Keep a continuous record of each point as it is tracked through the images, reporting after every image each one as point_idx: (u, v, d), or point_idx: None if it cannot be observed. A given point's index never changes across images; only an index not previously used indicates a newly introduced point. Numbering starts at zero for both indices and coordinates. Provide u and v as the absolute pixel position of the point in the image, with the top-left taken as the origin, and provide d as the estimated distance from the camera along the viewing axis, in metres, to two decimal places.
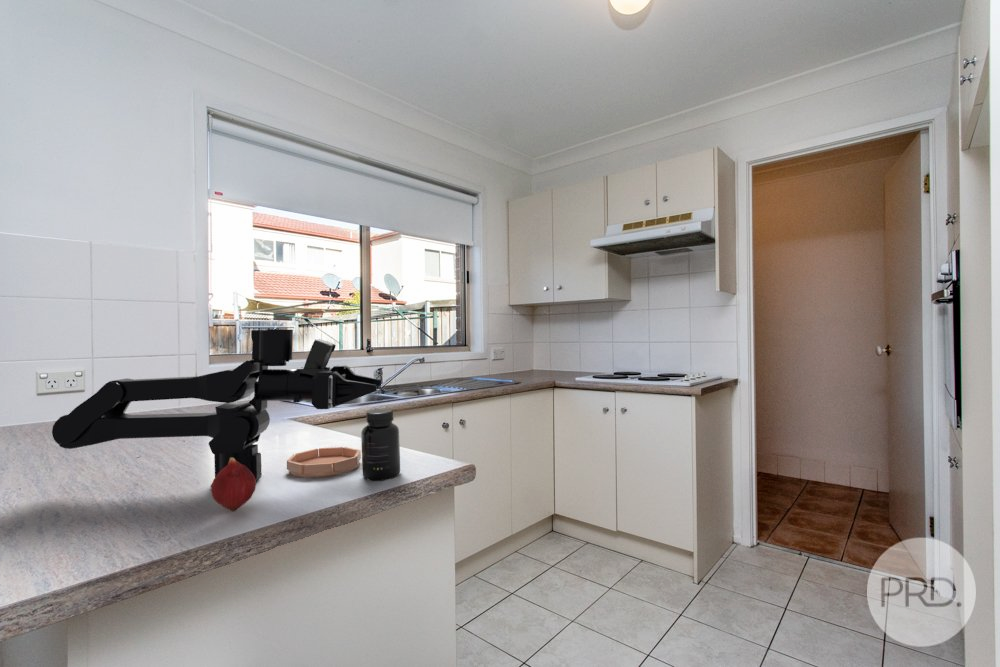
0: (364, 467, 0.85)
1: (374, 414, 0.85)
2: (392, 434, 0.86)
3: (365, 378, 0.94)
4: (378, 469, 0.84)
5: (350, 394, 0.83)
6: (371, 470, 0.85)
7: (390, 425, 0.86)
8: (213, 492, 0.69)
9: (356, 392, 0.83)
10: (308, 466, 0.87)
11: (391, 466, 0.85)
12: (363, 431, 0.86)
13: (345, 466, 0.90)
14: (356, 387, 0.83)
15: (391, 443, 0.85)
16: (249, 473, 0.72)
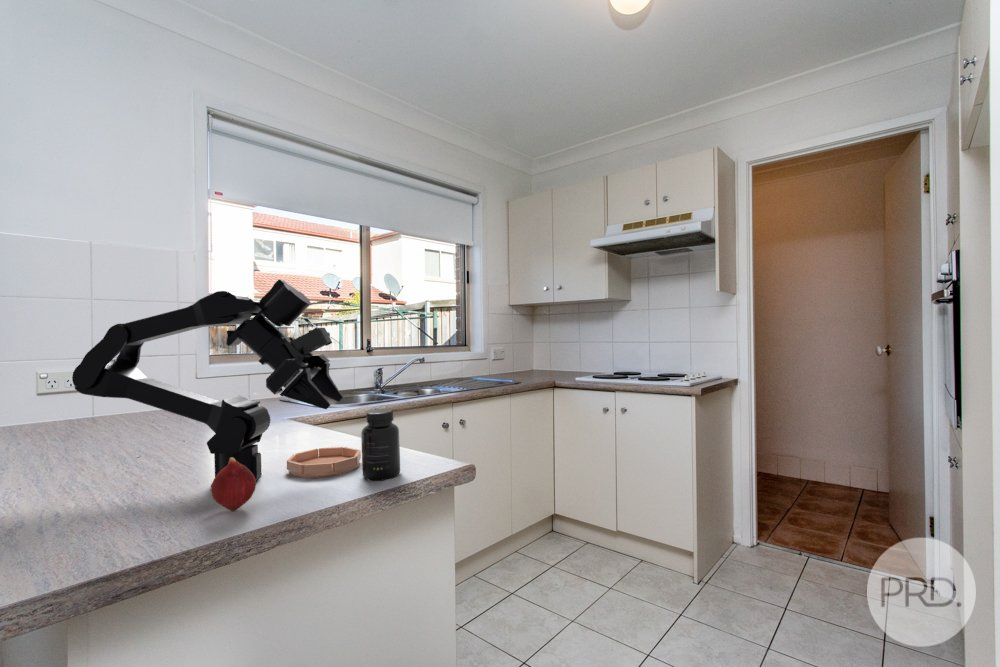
0: (364, 467, 0.85)
1: (374, 414, 0.85)
2: (392, 434, 0.86)
3: (332, 385, 0.91)
4: (378, 469, 0.84)
5: (303, 395, 0.81)
6: (371, 470, 0.85)
7: (390, 425, 0.86)
8: (213, 492, 0.69)
9: (309, 398, 0.81)
10: (308, 466, 0.87)
11: (391, 466, 0.85)
12: (363, 431, 0.86)
13: (345, 466, 0.90)
14: (313, 394, 0.81)
15: (391, 443, 0.85)
16: (249, 473, 0.72)
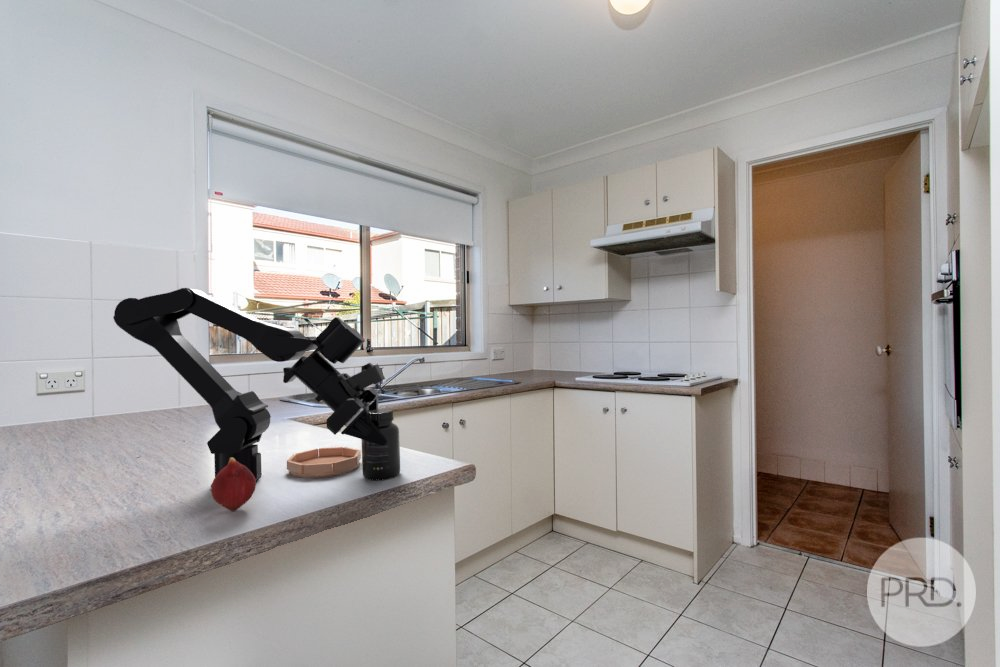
0: (364, 467, 0.85)
1: (374, 414, 0.85)
2: (392, 433, 0.86)
3: None
4: (378, 468, 0.84)
5: (362, 433, 0.83)
6: (371, 470, 0.85)
7: (390, 425, 0.86)
8: (213, 492, 0.69)
9: (368, 435, 0.83)
10: (308, 466, 0.87)
11: (391, 466, 0.85)
12: None
13: (345, 466, 0.90)
14: (371, 431, 0.83)
15: (391, 443, 0.85)
16: (249, 473, 0.72)
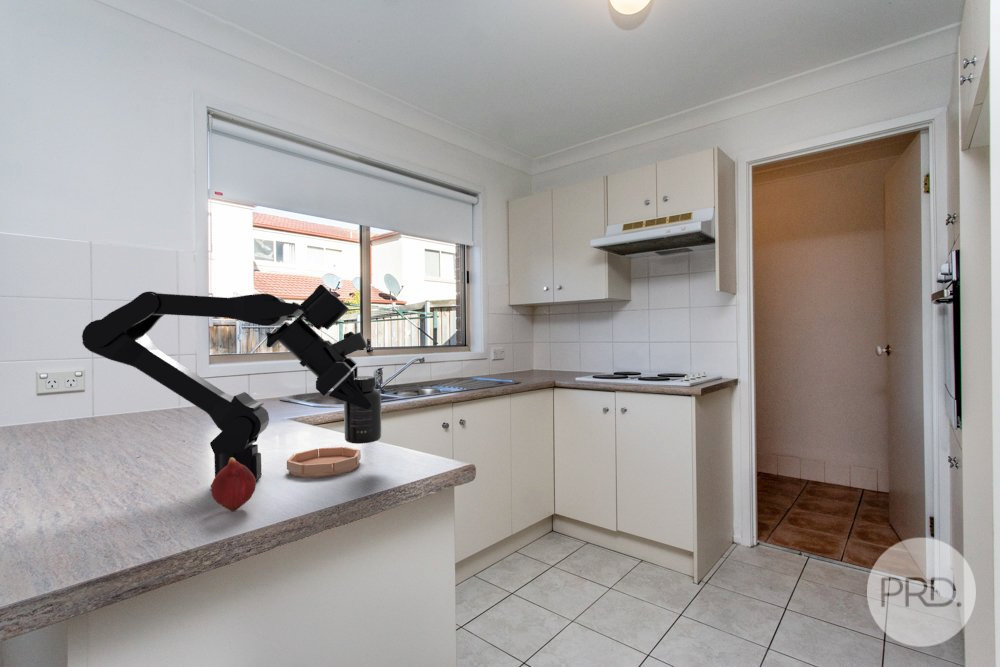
0: (347, 431, 0.88)
1: (359, 380, 0.88)
2: (376, 399, 0.89)
3: None
4: (361, 432, 0.88)
5: (348, 396, 0.85)
6: (355, 434, 0.88)
7: (373, 391, 0.90)
8: (213, 492, 0.69)
9: (353, 398, 0.86)
10: (308, 466, 0.87)
11: (374, 429, 0.89)
12: None
13: (345, 466, 0.90)
14: (357, 395, 0.86)
15: (375, 407, 0.89)
16: (249, 473, 0.72)
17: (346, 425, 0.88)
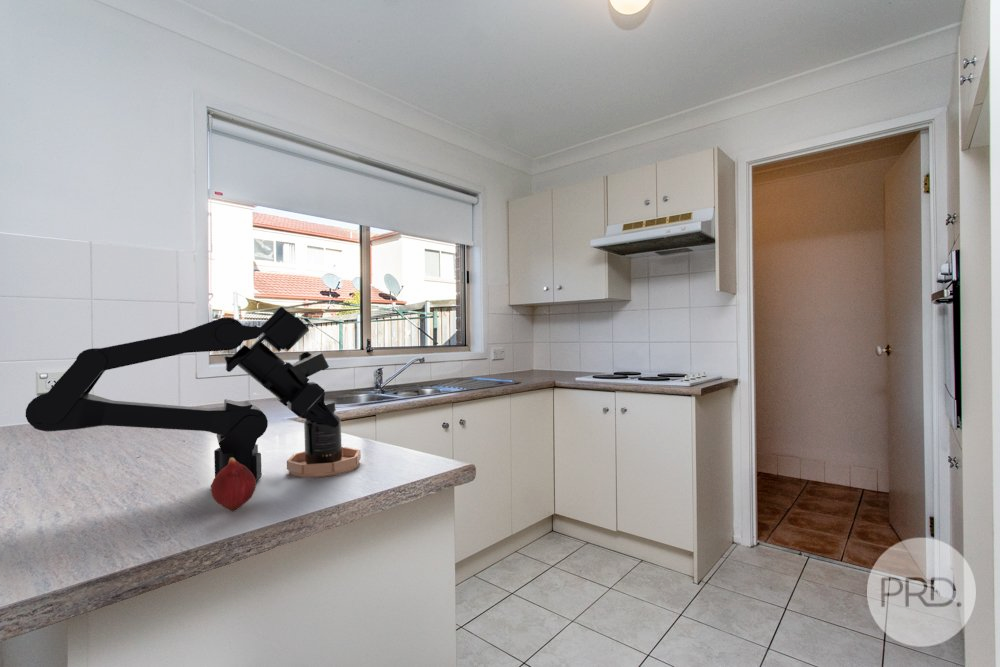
0: (311, 456, 0.91)
1: None
2: None
3: None
4: (326, 455, 0.91)
5: (317, 416, 0.88)
6: (320, 458, 0.91)
7: (334, 415, 0.94)
8: (213, 492, 0.69)
9: (323, 418, 0.88)
10: (308, 466, 0.87)
11: (337, 452, 0.93)
12: (309, 422, 0.91)
13: (345, 466, 0.90)
14: (326, 414, 0.89)
15: (337, 431, 0.93)
16: (249, 473, 0.72)
17: (309, 450, 0.91)
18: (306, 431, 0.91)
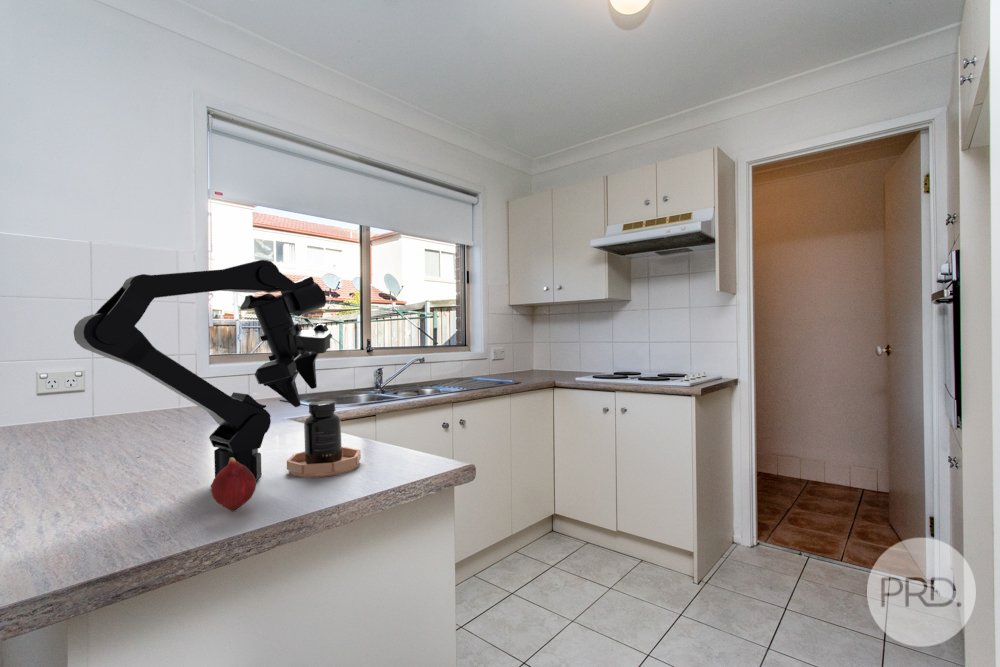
0: (311, 456, 0.91)
1: (321, 405, 0.92)
2: (338, 422, 0.93)
3: (312, 374, 1.00)
4: (326, 455, 0.91)
5: (282, 390, 0.89)
6: (320, 458, 0.91)
7: (334, 415, 0.94)
8: (213, 492, 0.69)
9: (286, 394, 0.90)
10: (308, 466, 0.87)
11: (337, 452, 0.93)
12: (309, 422, 0.91)
13: (345, 466, 0.90)
14: (290, 393, 0.90)
15: (337, 431, 0.93)
16: (249, 473, 0.72)
17: (309, 450, 0.91)
18: (306, 431, 0.91)
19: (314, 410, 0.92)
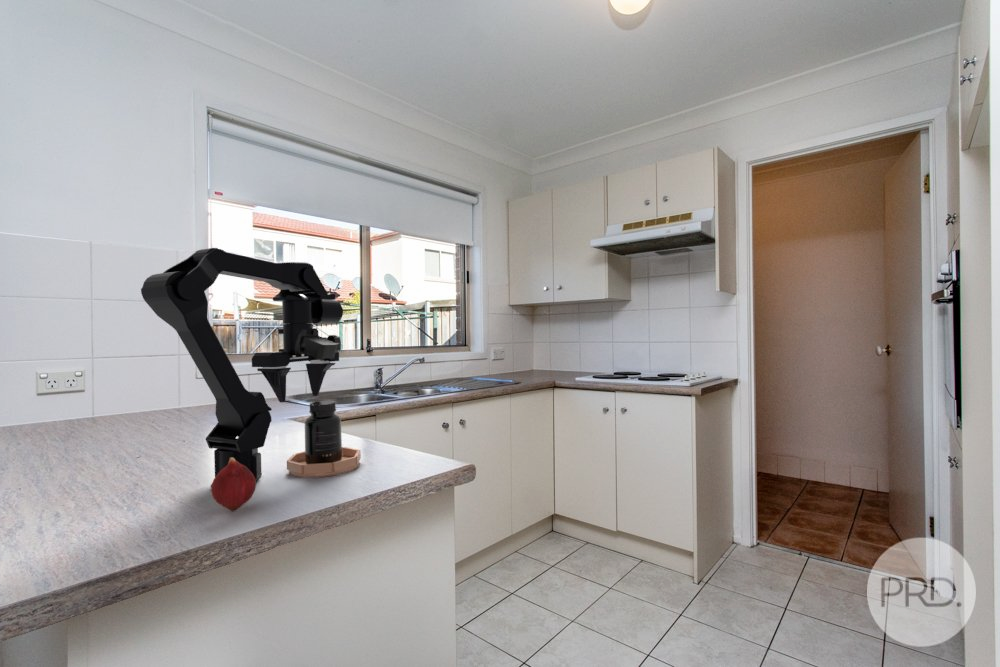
0: (311, 456, 0.91)
1: (322, 405, 0.92)
2: (339, 422, 0.93)
3: (318, 382, 1.03)
4: (327, 455, 0.91)
5: (272, 381, 0.93)
6: (320, 457, 0.91)
7: (334, 415, 0.94)
8: (213, 492, 0.69)
9: (274, 386, 0.94)
10: (308, 466, 0.87)
11: (338, 452, 0.93)
12: (309, 422, 0.91)
13: (345, 466, 0.90)
14: (278, 386, 0.93)
15: (338, 431, 0.93)
16: (249, 473, 0.72)
17: (309, 450, 0.91)
18: (306, 431, 0.91)
19: (315, 410, 0.92)
